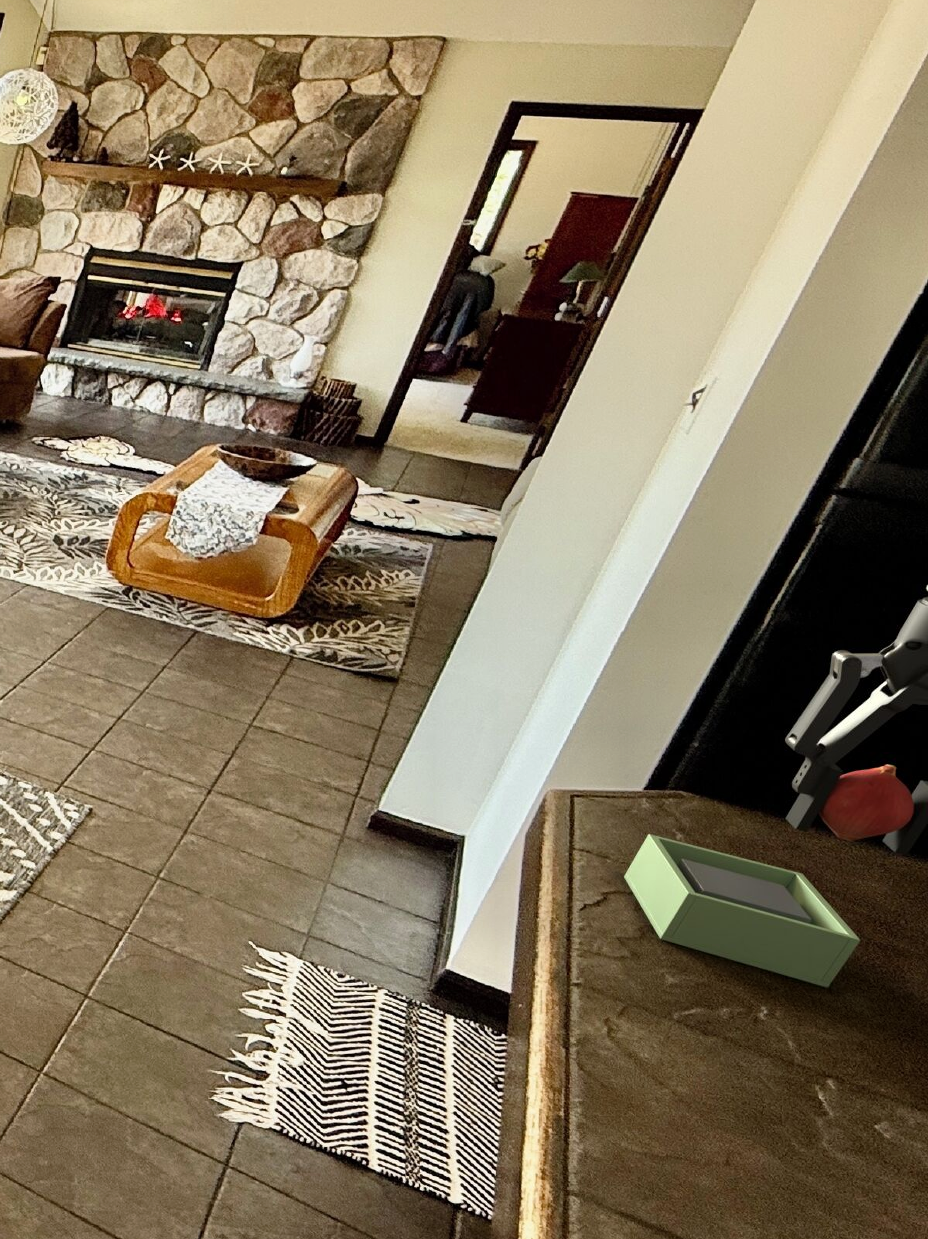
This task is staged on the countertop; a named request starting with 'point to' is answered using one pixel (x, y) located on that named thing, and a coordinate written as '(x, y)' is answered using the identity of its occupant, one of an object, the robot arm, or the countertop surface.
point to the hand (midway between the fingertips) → (844, 835)
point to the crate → (739, 914)
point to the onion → (867, 804)
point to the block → (742, 890)
